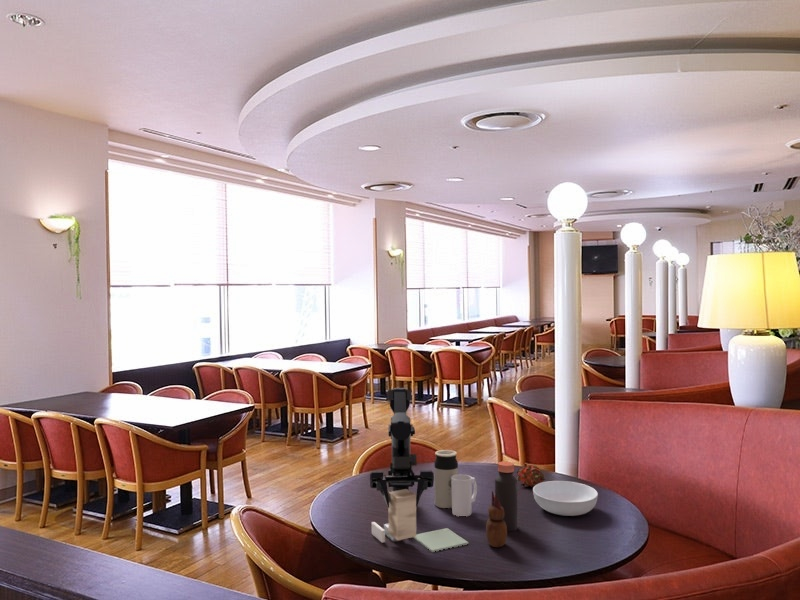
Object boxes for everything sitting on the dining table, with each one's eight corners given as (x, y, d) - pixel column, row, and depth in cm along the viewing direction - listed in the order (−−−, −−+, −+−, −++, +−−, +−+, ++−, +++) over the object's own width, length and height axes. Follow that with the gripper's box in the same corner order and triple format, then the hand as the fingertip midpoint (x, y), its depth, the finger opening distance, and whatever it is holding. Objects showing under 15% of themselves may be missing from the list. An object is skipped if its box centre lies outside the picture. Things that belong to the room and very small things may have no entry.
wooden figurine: (484, 540, 183) (483, 489, 183) (503, 539, 183) (503, 489, 183) (489, 550, 176) (488, 497, 176) (509, 549, 177) (509, 496, 176)
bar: (383, 534, 189) (383, 524, 189) (392, 532, 190) (392, 522, 190) (393, 542, 183) (393, 532, 182) (403, 540, 184) (402, 530, 184)
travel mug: (430, 503, 215) (430, 451, 215) (451, 499, 218) (450, 448, 218) (441, 510, 208) (440, 456, 207) (462, 507, 211) (461, 454, 210)
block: (388, 532, 182) (388, 492, 181) (406, 529, 184) (406, 488, 184) (397, 540, 176) (397, 498, 176) (416, 536, 179) (416, 495, 179)
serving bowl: (520, 512, 206) (520, 491, 206) (552, 496, 221) (552, 476, 221) (579, 528, 192) (579, 506, 192) (609, 510, 207) (608, 489, 207)
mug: (460, 518, 200) (460, 481, 200) (447, 512, 206) (447, 476, 205) (483, 512, 206) (483, 476, 206) (470, 506, 211) (469, 471, 211)
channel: (371, 533, 188) (371, 522, 188) (399, 528, 193) (399, 516, 193) (381, 542, 182) (381, 530, 182) (410, 536, 186) (410, 525, 186)
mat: (412, 537, 186) (412, 535, 186) (447, 529, 191) (447, 528, 191) (432, 552, 175) (432, 550, 175) (468, 544, 180) (468, 542, 180)
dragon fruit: (543, 495, 227) (518, 491, 236) (554, 477, 231) (529, 474, 241) (532, 478, 224) (507, 475, 234) (542, 461, 229) (518, 459, 238)
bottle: (499, 533, 188) (499, 467, 188) (492, 524, 195) (491, 461, 195) (520, 531, 190) (520, 465, 189) (512, 522, 196) (512, 459, 196)
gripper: (369, 444, 183) (369, 494, 172) (433, 443, 184) (436, 493, 173) (370, 463, 191) (370, 512, 181) (431, 462, 192) (434, 510, 181)
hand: (402, 506), depth 179 cm, fingers closed on block, 8 cm apart
